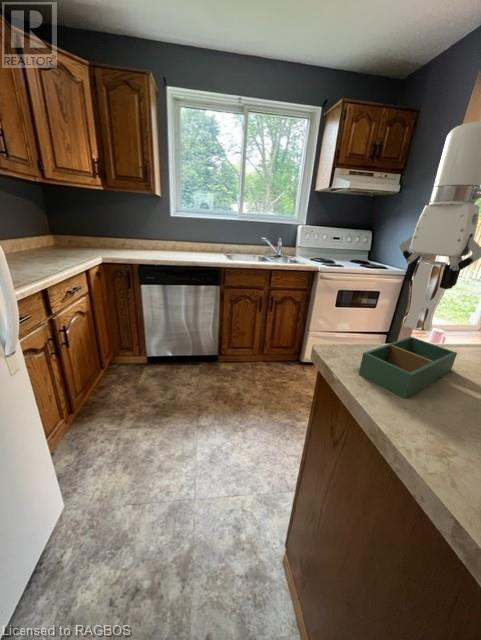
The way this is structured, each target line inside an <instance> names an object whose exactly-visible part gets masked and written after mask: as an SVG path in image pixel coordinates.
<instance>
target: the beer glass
mask: <svg viewBox="0 0 481 640" xmlns="http://www.w3.org/2000/svg"><path fill="white" fill-rule="evenodd" d="M450 269H451V264H450V262H444V261H438V260H428V259H427V260H426V259H424V260H423V259H420V260H417V262H416V265H415V268H414V271H413V273H412V277H411V281H410V282H409V285H408V286H409V287H408V295H407V296H408V298H407V308H406V312H405V314H404V317H403V318H402V321H401V325H402V326H403V327H405V328H407V329H410V330H414V331H419V332H430V331H431V330H432V327H433V317H434V315H435V313H436V310H437V308H438V306H439V304H440V302H441V300H442V298H443V296H444V295H445V293H446V290H447V289H443V288H442V287H443V284H444V280H445V277H446V274H447V271H448V270H450Z"/></svg>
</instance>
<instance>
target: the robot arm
mask: <svg viewBox="0 0 481 640" xmlns="http://www.w3.org/2000/svg"><path fill="white" fill-rule="evenodd" d="M479 199H481V121H471V122H467V123H462V124H460V125H457V126H455V127H453V128H452V129H451V130H450V131H449V132H448V134H447V136H446V138H445V141H444V146H443V149H442V153H441V157H440V161H439V165H438V168H437V173H436V176H435V180H434V184H433V188H432V192H431V195H430V199H429V203H428V204H426V205H425V206H424V208H423V210H422V211H421V213H420V216H419V219H418V221H417V224H416V226H415V229H414V232H413V235H411V237H409V238H408V239H405V240H404V241H403V242H401V243H400V244H399V246H398V247H399V250H400V252H401V253H402V256H403V258H404V259H405V261H406V264H407V267H406V271H405V282H408V283H410V281H411V277H412V273H413V271H414V268H415V265H416V262H417V260H422V258H423V257H424V255H430V256H439V257H447V258H448V260H449V263H450V264H451V269H450V270H448V271H447V274H446V277H445V280H444V284H443V287H442V288H443V289H446V290H451V289H452V288H453V287H455V286H456V285H457V282H458V278H459V276H460V273H461V271H463V270H464V269H465V268H468V267H469V266H470V265H472V264H475V262H476V261H478V260H480V259H481V245H480V244H478V242H476V240H475V236H476V233H477V228H478V222H479V217H480V205H478V204H476V203H477V202H478V200H479ZM470 253H472V254H471V255H469V254H470ZM468 255H469V256H468ZM465 256H468V257H466V258H464V259H463V257H465Z"/></svg>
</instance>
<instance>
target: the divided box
mask: <svg viewBox="0 0 481 640" xmlns="http://www.w3.org/2000/svg"><path fill="white" fill-rule="evenodd" d="M457 355H458V352H456V351H453V350H450V349H448V348H445V347H442V346H439V345H437V344H433V343H431V342H428V341H425V340H422V339H419V338H416V337H413V336H408V337H404V338H402V339H399V340H395V341H393V342H391V343H387V344H384V345H382V346H379V347H376V348H373V349H370V350H367V351H364V352H362V358H361V362H360V365H359V370H358V375H359V376H362V377H363V378H365V379H367V380H369V381H371V382H373V383H374V384H377V385H378V386H380V387H382V388H383V389H385V390H387V391H389V392H391V393H393V394H395V395H397V396H399V397H400V398H402V399H404V400H405V399H407V398H409V397H410V396H413V395H414V394H416V393H417V392H420V391H421V390H423V389H425V388H426V387H428V386H430V385H432V384H434V383H435V382H437V381H439V380H441V379H442V378H443V375H445V374H447V373H449V372H451V371H452V369H453V366H454V363H455V360H456V358H457Z"/></svg>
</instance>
